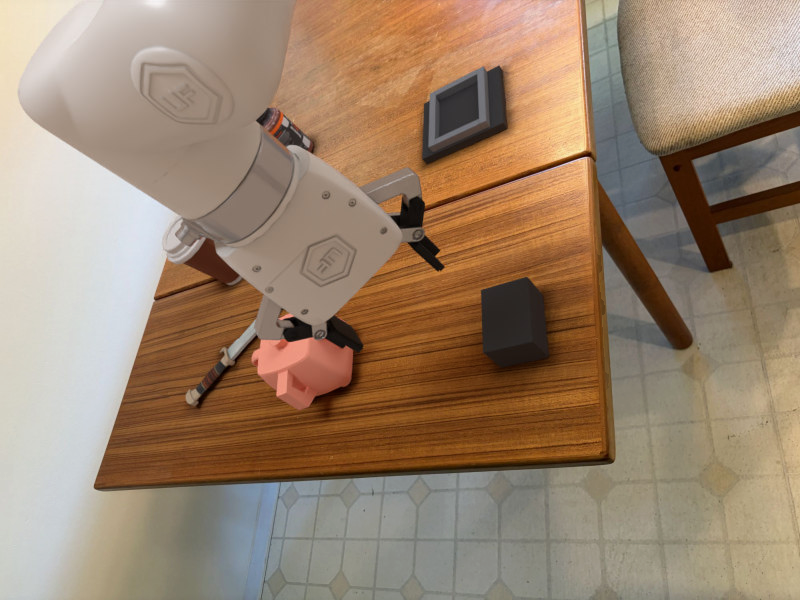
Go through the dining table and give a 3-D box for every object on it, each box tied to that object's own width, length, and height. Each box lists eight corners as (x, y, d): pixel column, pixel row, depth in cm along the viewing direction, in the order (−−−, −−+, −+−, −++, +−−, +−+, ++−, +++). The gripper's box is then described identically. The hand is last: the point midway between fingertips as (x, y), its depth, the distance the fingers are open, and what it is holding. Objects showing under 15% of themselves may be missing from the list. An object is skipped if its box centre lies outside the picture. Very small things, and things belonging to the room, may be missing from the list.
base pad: (503, 71, 76) (495, 58, 74) (507, 128, 70) (499, 116, 68) (428, 109, 82) (419, 97, 80) (426, 164, 76) (417, 153, 75)
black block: (543, 294, 56) (527, 276, 54) (549, 357, 53) (532, 341, 50) (498, 306, 59) (480, 289, 56) (501, 367, 55) (482, 353, 53)
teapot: (334, 308, 74) (282, 274, 67) (383, 350, 65) (330, 316, 59) (282, 378, 74) (224, 351, 67) (324, 430, 65) (263, 404, 58)
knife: (301, 255, 82) (311, 268, 78) (309, 261, 83) (318, 275, 79) (182, 386, 84) (185, 406, 80) (191, 391, 85) (194, 411, 81)
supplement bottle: (320, 140, 96) (272, 94, 88) (304, 169, 95) (254, 125, 87) (300, 140, 100) (252, 97, 92) (284, 168, 99) (234, 126, 91)
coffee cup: (216, 266, 97) (156, 230, 89) (253, 234, 95) (195, 194, 86) (220, 302, 91) (156, 268, 83) (260, 270, 88) (198, 230, 80)
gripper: (163, 313, 34) (341, 399, 46) (356, 104, 32) (491, 251, 44) (149, 252, 40) (312, 343, 52) (314, 68, 37) (445, 208, 49)
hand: (394, 301), depth 48 cm, fingers open, 9 cm apart
